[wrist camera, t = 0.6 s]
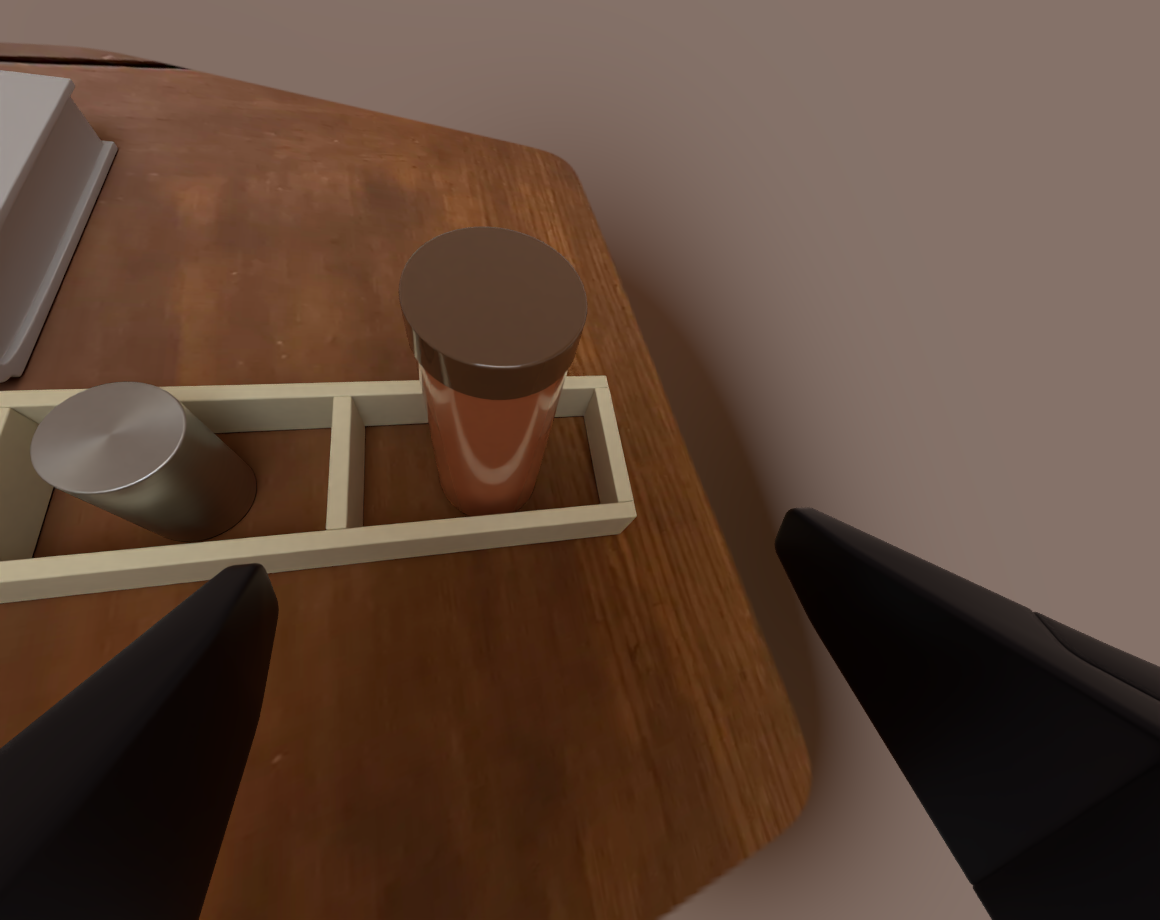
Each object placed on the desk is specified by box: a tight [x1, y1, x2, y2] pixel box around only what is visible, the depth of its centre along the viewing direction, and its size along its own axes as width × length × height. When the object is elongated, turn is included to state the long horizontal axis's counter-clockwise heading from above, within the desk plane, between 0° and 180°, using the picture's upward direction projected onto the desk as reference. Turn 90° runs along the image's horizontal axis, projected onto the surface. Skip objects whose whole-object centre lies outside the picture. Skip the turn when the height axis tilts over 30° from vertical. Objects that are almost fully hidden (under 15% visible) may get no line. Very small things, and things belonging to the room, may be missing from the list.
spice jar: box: [399, 227, 587, 516], centre depth 19 cm, size 5×5×13 cm
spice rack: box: [0, 376, 637, 603], centre depth 22 cm, size 26×8×3 cm, turn 99°
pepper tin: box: [30, 382, 256, 542], centre depth 19 cm, size 4×4×6 cm
